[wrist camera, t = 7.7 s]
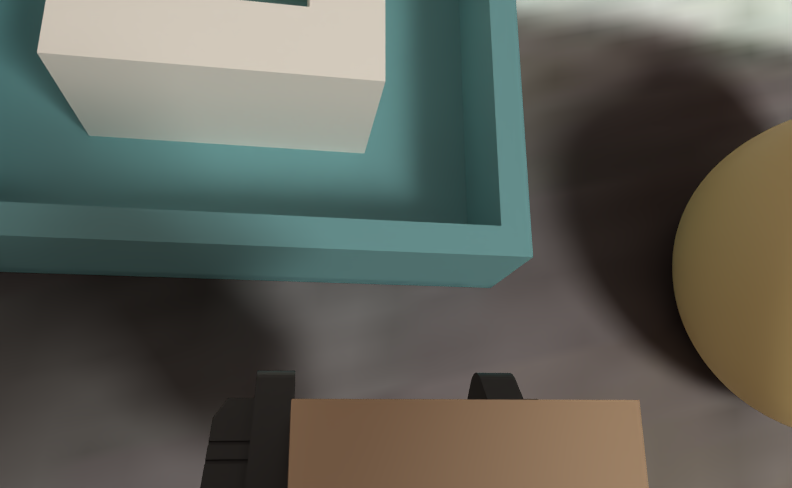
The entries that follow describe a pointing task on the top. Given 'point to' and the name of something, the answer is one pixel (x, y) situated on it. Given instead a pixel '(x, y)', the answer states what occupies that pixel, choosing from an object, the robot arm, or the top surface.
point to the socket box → (264, 140)
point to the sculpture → (742, 271)
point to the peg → (466, 444)
